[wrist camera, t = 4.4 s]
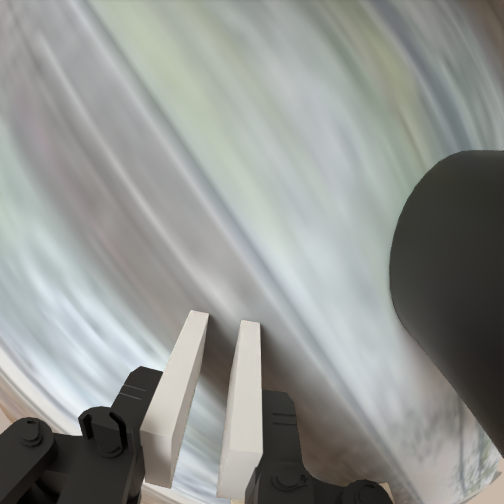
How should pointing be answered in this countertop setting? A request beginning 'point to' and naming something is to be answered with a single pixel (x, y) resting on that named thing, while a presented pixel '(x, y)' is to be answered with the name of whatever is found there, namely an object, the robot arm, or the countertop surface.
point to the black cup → (457, 278)
